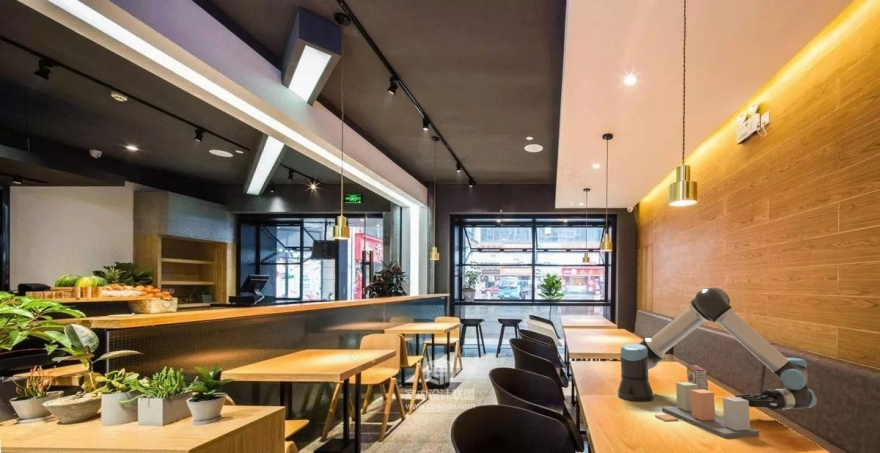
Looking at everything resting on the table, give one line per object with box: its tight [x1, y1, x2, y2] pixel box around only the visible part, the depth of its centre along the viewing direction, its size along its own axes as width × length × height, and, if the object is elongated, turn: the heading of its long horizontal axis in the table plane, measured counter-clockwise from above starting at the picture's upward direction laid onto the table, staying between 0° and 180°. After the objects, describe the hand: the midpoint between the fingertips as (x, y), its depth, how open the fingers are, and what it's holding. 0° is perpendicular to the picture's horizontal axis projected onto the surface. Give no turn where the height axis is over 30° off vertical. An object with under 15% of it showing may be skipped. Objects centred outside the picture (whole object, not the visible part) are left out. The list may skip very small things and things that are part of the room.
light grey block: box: [722, 396, 751, 431], centre depth 164 cm, size 5×6×10 cm
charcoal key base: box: [661, 406, 760, 439], centre depth 174 cm, size 32×14×2 cm, turn 12°
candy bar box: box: [686, 364, 709, 391], centre depth 197 cm, size 11×5×16 cm, turn 168°
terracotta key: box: [691, 389, 716, 421], centre depth 175 cm, size 5×6×10 cm
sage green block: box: [675, 381, 698, 411], centre depth 187 cm, size 5×6×10 cm
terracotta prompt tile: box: [654, 413, 680, 422], centre depth 178 cm, size 6×6×1 cm
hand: (726, 401), depth 177 cm, fingers closed
